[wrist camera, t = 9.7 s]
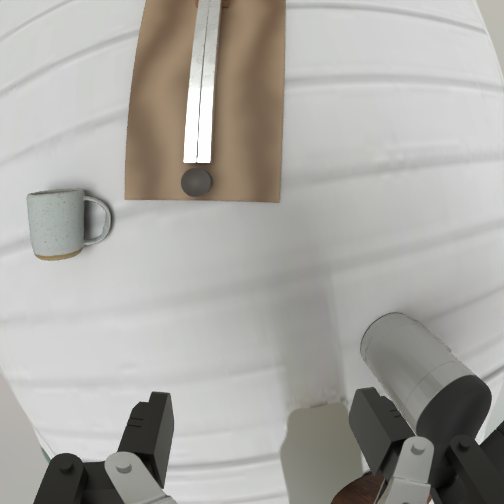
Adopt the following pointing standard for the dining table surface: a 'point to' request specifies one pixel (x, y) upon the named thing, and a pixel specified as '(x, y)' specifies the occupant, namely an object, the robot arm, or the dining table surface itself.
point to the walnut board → (226, 105)
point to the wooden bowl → (362, 491)
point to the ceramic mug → (60, 223)
